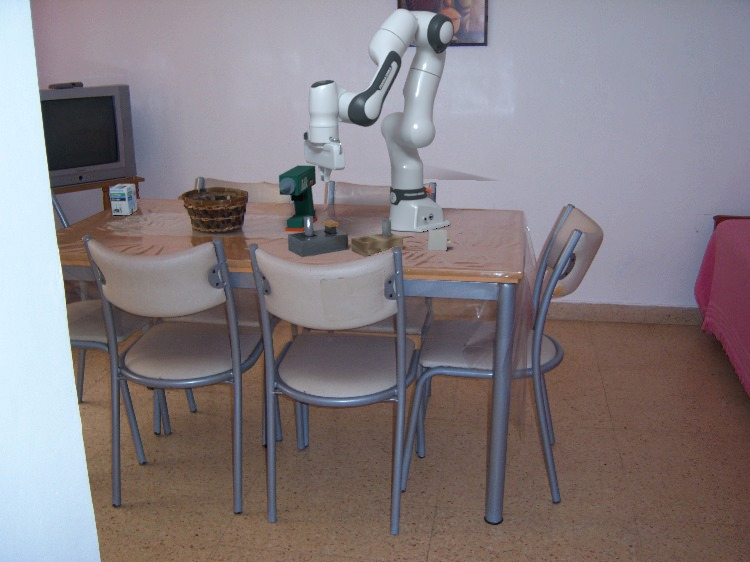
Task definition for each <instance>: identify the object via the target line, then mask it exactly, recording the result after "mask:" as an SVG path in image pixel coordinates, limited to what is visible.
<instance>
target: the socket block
mask: <svg viewBox="0 0 750 562" xmlns="http://www.w3.org/2000/svg"><path fill="white" fill-rule="evenodd" d="M287 245H288V246H287V247H288V251H290V252H292V253H294V254H296V255H297V256H300V257H302V258H304V257H305V258H307V257H312V256H316V255H322V254H329V253H335V252H341V251H349V233H346V232H344V231H342V230H339V229H337V228H336V234H331V235H330V234H328V233H325V228H324V229H316V230H315V229H314V237H308V238H306V237H305V231H304V232H294V233H290V234H287Z"/></svg>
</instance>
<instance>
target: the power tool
mask: <svg viewBox="0 0 750 562" xmlns="http://www.w3.org/2000/svg"><path fill="white" fill-rule="evenodd" d="M316 176H317V175H316V165H296V166H294V167H292V168H290V169H289V170H286V171H284V172H283V173H281V174H279V175H278V188H279V195H280V196H281V195H282V196H290V201H291V202H293V204H294V213H295V214H293V215H292V216H291V217H289V218H288V219H286V227H285V228H284V231H285V232H294V233H301V232H305V230H304V216H313V224H314V223H316V222H317V221H318V220H319V219H318V216H316V215H317V214H316V210H315V205H314V197H313V186H314V185H316V184H317V182H316V181H317V180H316V179H317V178H316Z"/></svg>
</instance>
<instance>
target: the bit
mask: <svg viewBox="0 0 750 562" xmlns="http://www.w3.org/2000/svg"><path fill="white" fill-rule="evenodd" d="M304 230H305V231H304V232H305V237H306V238H308V237H314V231H315V229H314V223H313V216H304Z"/></svg>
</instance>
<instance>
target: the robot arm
mask: <svg viewBox="0 0 750 562" xmlns="http://www.w3.org/2000/svg"><path fill="white" fill-rule="evenodd" d="M454 34H455V26H454V22H453V20H452V18H451V17H449V16H447V15H445V14H443V13H436V12H434V11H433V12H432V11H428V10H410V9H406V8H397V9H395V10H393V11H392V12H391V13H390V14H389V15H388V16H387V17H386V18H385V20H384V21H382V23H381V25H380V26H379V27H378V28H377V30H376V31H375V33H374V34H373V35H372V38H371V39H370V41H369V42H368V43H369V44H368V45H367V50H368V55H369V57H370V60H371V61H372V62H373V63H374V64H375V66H376V67H377V69H376V71H375V73H374V75H373V77H372V79H371V81H370V83H369V84H368V87H367V88H366V89H364V90H361V91H352V90H348V89H346V88H344V87H342V86H340V85H338V84H337V83H336V81H335V80H333V79H332V80H331V79H325V80H319V81H315V82H313V83H312V84H311V86H310V88H309V92H308V113H309V124H308V129H307V130H306V131H305V132H303V133H302V139H303V141H304V143H303V152H304V153H303V154H304V159H305V161H306V163H307V164H309V165H313V166H317V169H318V173H319V175H320V176H319V177H320V181H321V182H325V183H328V182H330V181H331V173H332V171H342V170H344V169H345V168H346V157H345V156H346V155H345V148H344V146H343V145H342V144H343V143H341V141H340V139H339V134H340V133H339V123H345V124H351V125H356V126H359V127H363V128H368V127H371V126H373V125H374V124H376V123H377V121H378V120H379V118H380V116H381V114H382V110H383V107H384V103H385V100H386V98H387V96H388V95H389V92H390V90H391V89H392V87H393V84H394V83H395V81H396V79H397V77H398V74H399V72H400V70H401V67H402V58H403V57H404V55H405V53H406V52H407V51H408V48H409V47H410V46H414V47H415V54H414V56H413V58H412V61H411V64H410V66H409V69H408V72H407V76H406V77H405V78H406V79H405V81H404V85H403V88H402V95H403V98H404V101H403V102H404V105H403V112H400V111H398V112H397V111H396V112H393V113H389V114H387V115H386V116H385V117H383V119H382V121H381V123H380V133H381V135H382V136H383V138H384V141H385V143H386V147H387V151H388V152H387V153H388V156H389V160H390V161H389V162H390V178H391V179H390V180H391V181H390V182H391V183H390V185H391V186H389V200H390V209H389V216H388V220H391V231H392V230H393V231H399V232H400V231H401V232H415V233H416V232H417V233H423V231H424V232H428V231H429V230H437V229H441V228H444V226H445V227H448V225H449V226H451V222H450V221H449V220H448V219H446V218H445V217H444V211H443V208H442V207H441V206H440V205H439V204H438V203H437V202H435V201H434V200H433V199H431V198H430V197H429V195H431V194H433V192H434V189H433V187H426V186H424V163H423V160H422V159H421V157H420V155H419V151H418V149H423V148H427V147H428V146H430V145H431V144H432V143H433V141H434V139H435V137H436V128H435V124H434V121H433V120H434V117H433V115H434V105H435V99H436V95H437V92H438V88H439V86H440V82H441V79H442V76H443V73H444V70H445V65H446V64H445V63H446V57H447V50H446V49H447V48H448V47H449V45H450V44H451V42H452V40H453V38H454ZM428 194H429V195H428ZM436 228H437V229H436ZM427 230H428V231H427Z"/></svg>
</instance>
